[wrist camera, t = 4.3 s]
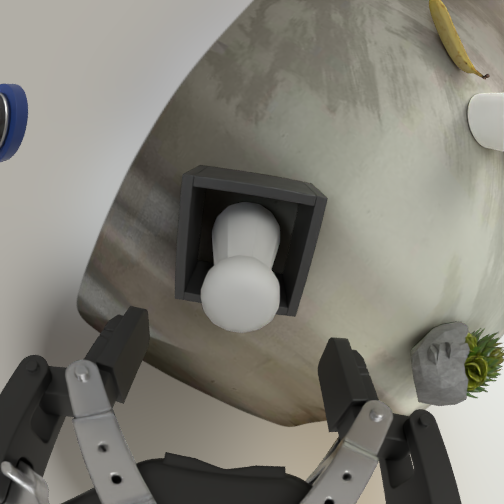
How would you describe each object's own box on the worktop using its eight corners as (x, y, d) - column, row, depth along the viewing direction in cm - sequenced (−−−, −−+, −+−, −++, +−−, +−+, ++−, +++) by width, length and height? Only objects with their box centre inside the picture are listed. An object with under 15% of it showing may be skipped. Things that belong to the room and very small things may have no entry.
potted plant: (408, 332, 27) (514, 297, 20) (404, 335, 37) (485, 311, 31) (416, 430, 22) (523, 393, 16) (411, 407, 32) (493, 382, 26)
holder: (189, 266, 28) (174, 298, 22) (199, 165, 24) (182, 173, 18) (288, 281, 28) (295, 317, 23) (311, 183, 24) (327, 198, 19)
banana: (410, 6, 15) (428, -6, 12) (422, 2, 15) (441, -9, 11) (461, 84, 19) (484, 82, 15) (471, 78, 18) (494, 75, 14)
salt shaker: (204, 233, 26) (164, 316, 14) (238, 183, 24) (218, 233, 12) (255, 265, 27) (253, 363, 15) (291, 219, 25) (319, 297, 14)
